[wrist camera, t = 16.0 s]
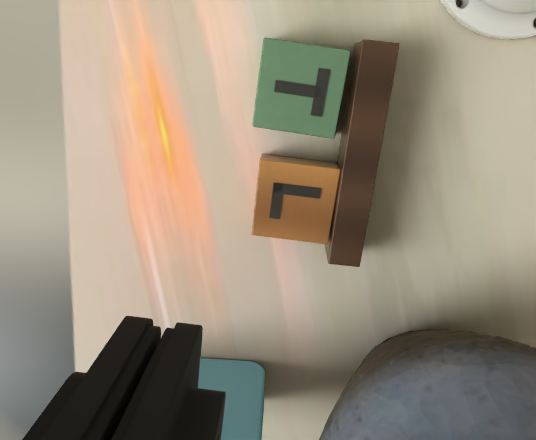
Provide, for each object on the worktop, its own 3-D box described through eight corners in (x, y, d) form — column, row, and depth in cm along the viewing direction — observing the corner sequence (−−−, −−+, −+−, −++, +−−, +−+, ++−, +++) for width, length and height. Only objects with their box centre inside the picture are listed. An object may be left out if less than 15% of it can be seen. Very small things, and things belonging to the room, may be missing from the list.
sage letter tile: (265, 40, 32) (263, 37, 29) (346, 52, 32) (351, 50, 29) (254, 123, 34) (252, 126, 31) (331, 134, 34) (334, 139, 31)
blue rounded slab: (140, 392, 42) (86, 509, 31) (138, 353, 41) (79, 460, 29) (264, 400, 42) (255, 521, 30) (266, 360, 40) (257, 472, 29)
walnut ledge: (355, 43, 32) (362, 39, 28) (388, 46, 32) (399, 43, 28) (324, 247, 37) (328, 263, 33) (353, 250, 37) (359, 267, 33)
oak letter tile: (261, 153, 34) (259, 159, 32) (337, 162, 34) (341, 169, 32) (253, 224, 36) (251, 235, 34) (325, 233, 36) (328, 245, 34)
